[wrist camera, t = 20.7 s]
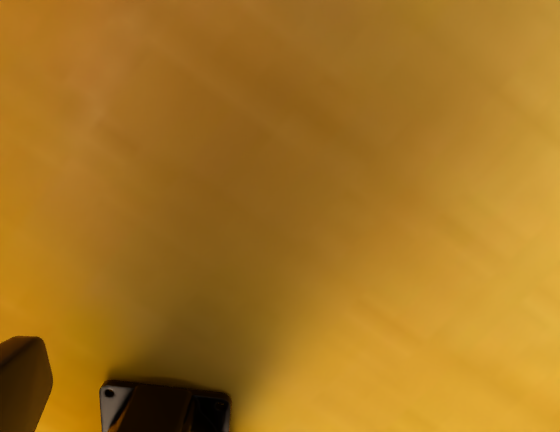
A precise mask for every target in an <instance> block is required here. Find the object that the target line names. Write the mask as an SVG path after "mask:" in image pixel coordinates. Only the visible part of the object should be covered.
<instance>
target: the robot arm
mask: <svg viewBox="0 0 560 432" xmlns="http://www.w3.org/2000/svg"><path fill="white" fill-rule="evenodd" d="M52 384H53V376H52V371H51V367H50V363H49V359H48V355H47V351H46V347H45V344H44V341H43V340H42V339H41V338H39V337H36V336H15V337H12V338H10V339H8V340H6V341H4V342H2V343H0V432H35V429H36V427H37V424H38V422H39V419H40V417H41V415H42V412H43V410H44V407H45V405H46V403H47V400H48V398H49V395H50V393H51V389H52ZM108 389H110V390H112V391H113V392H112V391H110V390H108ZM99 394H100V409H101V423H102V432H230V421H231V406H232V400H231V398H230V396H229V395H227V394H225V393H220V392H211V391H203V390H194V389H186V388H177V387H169V386H160V385H152V384H143V383H135V382H126V381H118V380H107V381H105V382H104V383H103V385H102V386H101V388H100V391H99ZM220 402H221V403H223V405H221V404H219V403H220Z"/></svg>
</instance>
